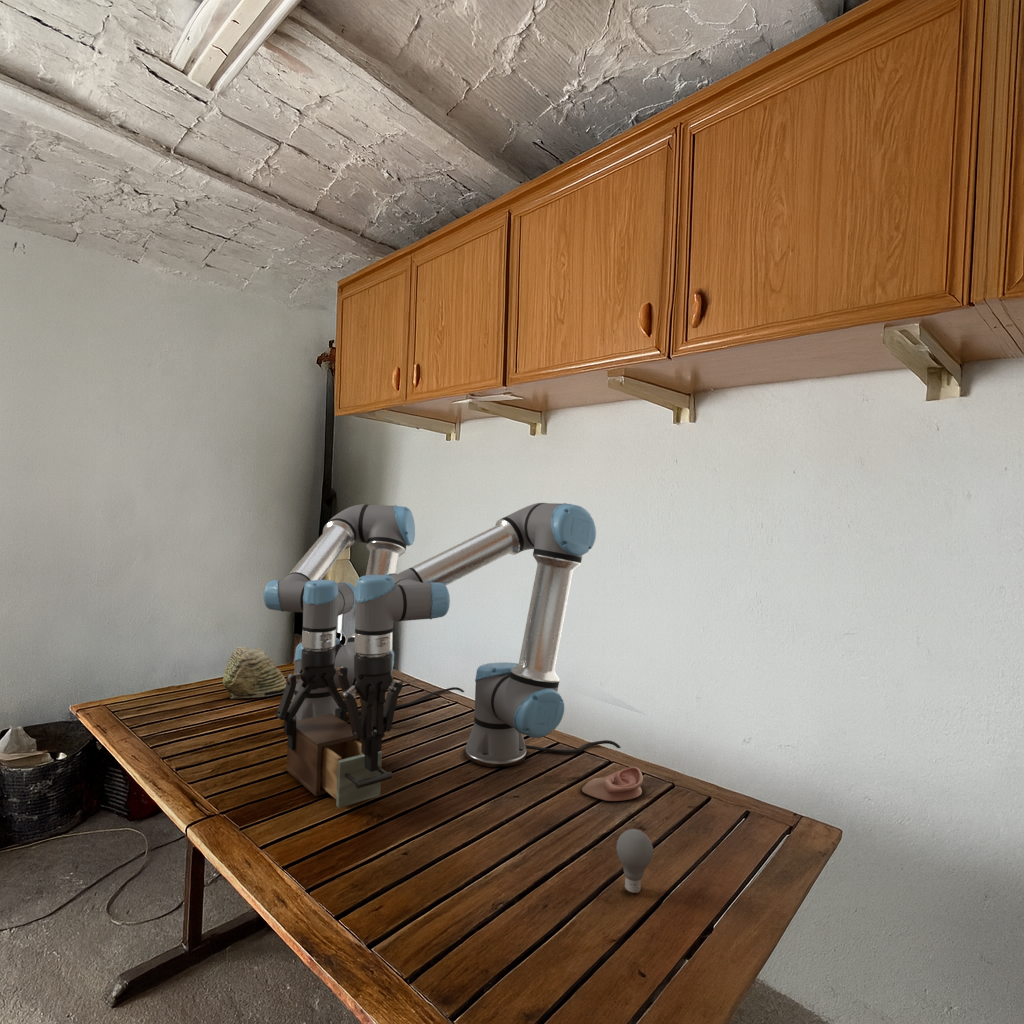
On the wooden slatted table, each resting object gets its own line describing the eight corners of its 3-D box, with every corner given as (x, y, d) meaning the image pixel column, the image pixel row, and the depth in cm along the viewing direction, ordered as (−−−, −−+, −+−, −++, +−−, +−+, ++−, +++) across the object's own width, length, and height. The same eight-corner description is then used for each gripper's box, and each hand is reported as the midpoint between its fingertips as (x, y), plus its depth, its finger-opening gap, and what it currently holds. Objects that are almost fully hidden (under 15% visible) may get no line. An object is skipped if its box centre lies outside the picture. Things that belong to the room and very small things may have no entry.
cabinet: (361, 783, 140) (363, 733, 140) (316, 796, 134) (317, 743, 133) (330, 759, 153) (331, 713, 152) (286, 770, 146) (288, 722, 145)
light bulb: (610, 879, 108) (613, 822, 108) (644, 879, 109) (647, 822, 109) (619, 902, 102) (622, 840, 102) (655, 901, 103) (658, 840, 103)
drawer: (395, 806, 128) (397, 761, 128) (352, 820, 122) (354, 772, 122) (348, 771, 144) (349, 730, 144) (308, 782, 138) (309, 739, 138)
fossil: (218, 695, 195) (220, 647, 195) (278, 685, 208) (279, 640, 207) (228, 703, 189) (230, 653, 188) (289, 692, 201) (290, 645, 201)
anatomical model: (581, 779, 138) (585, 758, 149) (580, 797, 138) (585, 775, 149) (643, 787, 135) (643, 766, 147) (642, 806, 136) (642, 783, 147)
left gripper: (274, 657, 136) (271, 759, 136) (371, 645, 151) (368, 736, 151) (262, 650, 141) (258, 748, 142) (356, 639, 157) (353, 727, 157)
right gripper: (352, 661, 120) (349, 784, 121) (411, 651, 129) (408, 766, 129) (334, 653, 126) (332, 770, 126) (392, 644, 134) (389, 754, 135)
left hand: (315, 742), depth 147 cm, fingers closed on cabinet, 11 cm apart
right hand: (371, 768), depth 128 cm, fingers closed
